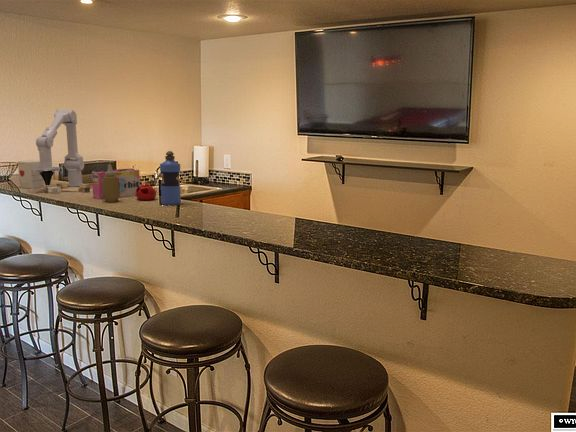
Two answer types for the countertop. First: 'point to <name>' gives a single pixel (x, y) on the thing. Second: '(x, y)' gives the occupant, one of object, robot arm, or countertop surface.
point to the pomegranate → (145, 192)
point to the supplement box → (29, 174)
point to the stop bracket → (55, 191)
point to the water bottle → (170, 181)
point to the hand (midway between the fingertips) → (47, 185)
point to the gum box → (126, 181)
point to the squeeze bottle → (110, 186)
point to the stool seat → (76, 188)
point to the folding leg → (49, 189)
